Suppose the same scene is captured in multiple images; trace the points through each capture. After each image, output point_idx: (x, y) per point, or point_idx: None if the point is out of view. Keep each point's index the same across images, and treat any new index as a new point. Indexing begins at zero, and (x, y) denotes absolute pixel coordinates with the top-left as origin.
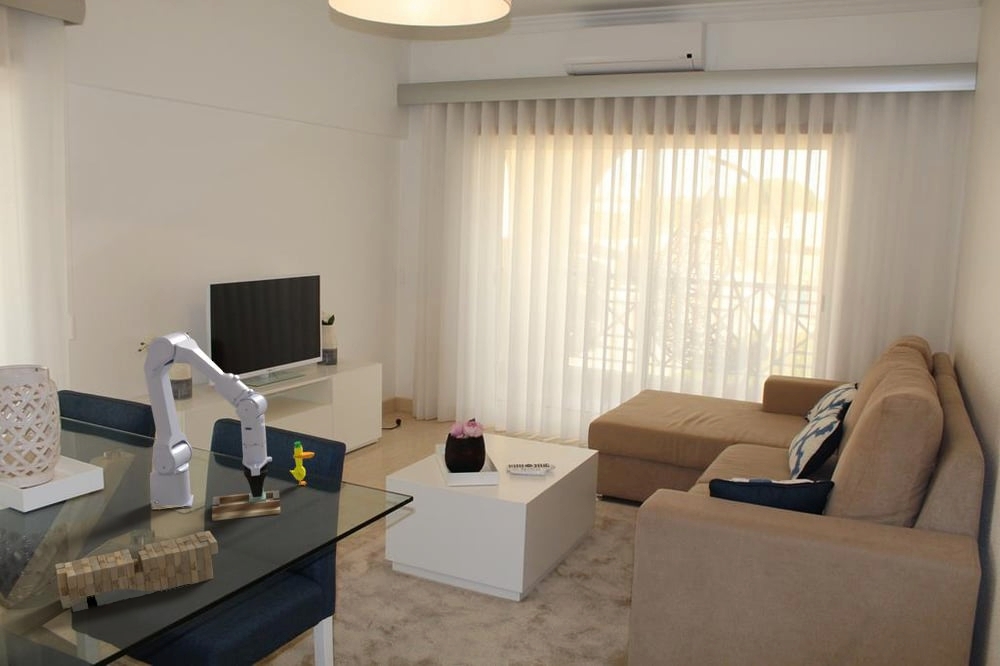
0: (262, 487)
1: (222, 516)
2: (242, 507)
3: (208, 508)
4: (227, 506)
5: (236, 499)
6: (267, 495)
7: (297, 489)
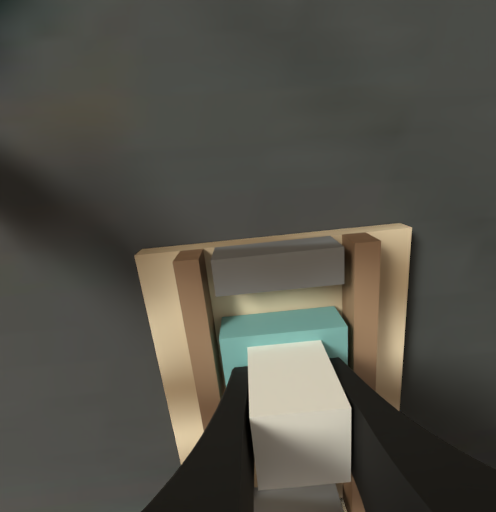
0: (380, 396)
1: None
2: None
3: None
4: None
5: None
6: (211, 317)
7: (10, 148)
